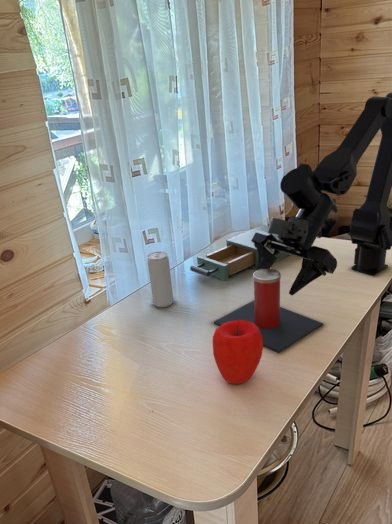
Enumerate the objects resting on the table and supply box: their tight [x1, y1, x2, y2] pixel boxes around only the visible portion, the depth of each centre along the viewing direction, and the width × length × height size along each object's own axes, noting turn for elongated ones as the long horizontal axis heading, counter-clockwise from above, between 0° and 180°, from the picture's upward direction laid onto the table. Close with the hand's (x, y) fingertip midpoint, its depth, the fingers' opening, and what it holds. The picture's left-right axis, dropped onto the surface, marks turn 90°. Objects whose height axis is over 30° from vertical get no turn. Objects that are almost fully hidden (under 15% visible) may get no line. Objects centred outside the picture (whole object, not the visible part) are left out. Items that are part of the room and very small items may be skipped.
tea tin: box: [252, 268, 282, 328], centre depth 105 cm, size 5×5×11 cm
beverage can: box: [146, 250, 174, 308], centre depth 117 cm, size 5×5×12 cm
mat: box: [213, 300, 324, 354], centre depth 108 cm, size 18×14×1 cm
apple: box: [212, 320, 264, 385], centre depth 90 cm, size 9×9×11 cm
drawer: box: [189, 244, 255, 281], centre depth 131 cm, size 18×10×4 cm, turn 132°
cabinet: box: [225, 224, 290, 270], centre depth 138 cm, size 15×11×6 cm
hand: (273, 288), depth 105 cm, fingers open, 9 cm apart
